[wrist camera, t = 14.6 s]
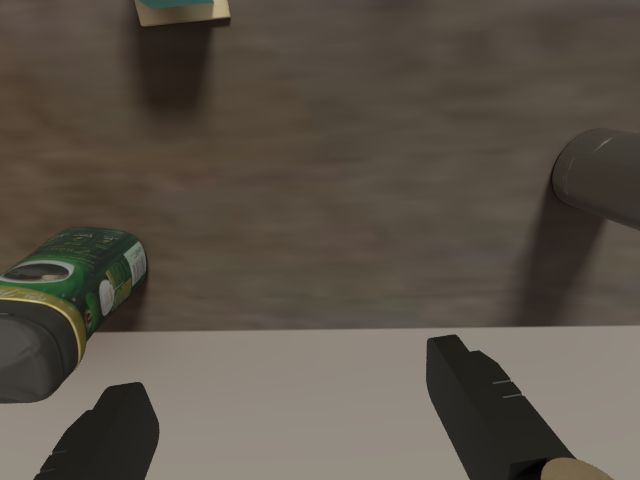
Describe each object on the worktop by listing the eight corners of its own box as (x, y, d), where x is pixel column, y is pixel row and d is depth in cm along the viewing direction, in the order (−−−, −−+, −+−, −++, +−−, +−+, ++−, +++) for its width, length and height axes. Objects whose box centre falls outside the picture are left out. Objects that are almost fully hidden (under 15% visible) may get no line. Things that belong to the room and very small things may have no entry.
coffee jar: (66, 284, 40) (-100, 423, 23) (54, 221, 37) (-145, 325, 20) (152, 289, 41) (57, 423, 24) (148, 228, 38) (37, 332, 21)
